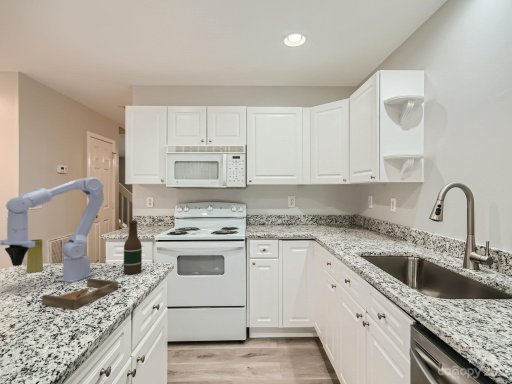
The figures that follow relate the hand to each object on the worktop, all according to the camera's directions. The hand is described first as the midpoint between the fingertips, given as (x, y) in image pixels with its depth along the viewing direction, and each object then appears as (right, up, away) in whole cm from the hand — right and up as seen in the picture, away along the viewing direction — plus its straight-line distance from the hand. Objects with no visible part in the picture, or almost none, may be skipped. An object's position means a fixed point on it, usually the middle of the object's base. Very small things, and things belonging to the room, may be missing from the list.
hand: (17, 265), depth 98 cm
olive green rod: (-14, -10, +24) cm, 29 cm away
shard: (+24, -10, -6) cm, 27 cm away
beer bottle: (+32, -10, +23) cm, 41 cm away
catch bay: (+28, -10, -5) cm, 30 cm away
